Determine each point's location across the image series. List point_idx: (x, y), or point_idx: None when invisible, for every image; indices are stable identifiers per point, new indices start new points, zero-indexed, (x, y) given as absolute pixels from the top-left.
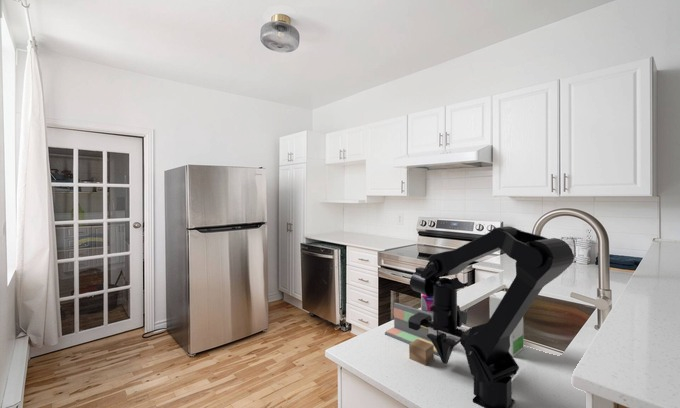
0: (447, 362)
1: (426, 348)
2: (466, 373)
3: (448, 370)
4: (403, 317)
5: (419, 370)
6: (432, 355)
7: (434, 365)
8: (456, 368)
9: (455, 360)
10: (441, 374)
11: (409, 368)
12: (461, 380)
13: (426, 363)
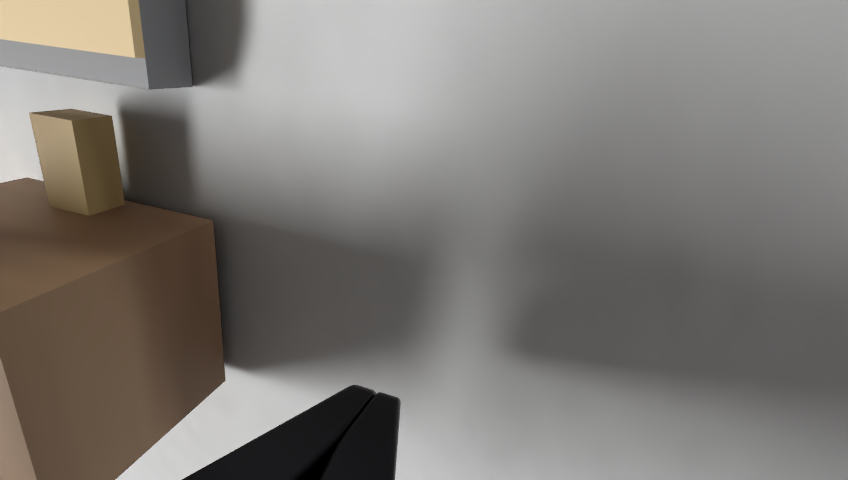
0: (399, 404)
1: (20, 476)
2: (688, 293)
3: (445, 333)
4: None
5: (231, 447)
6: (163, 275)
7: (280, 307)
8: (519, 238)
9: (434, 8)
10: (412, 437)
11: (163, 449)
12: (650, 467)
13: (212, 376)
